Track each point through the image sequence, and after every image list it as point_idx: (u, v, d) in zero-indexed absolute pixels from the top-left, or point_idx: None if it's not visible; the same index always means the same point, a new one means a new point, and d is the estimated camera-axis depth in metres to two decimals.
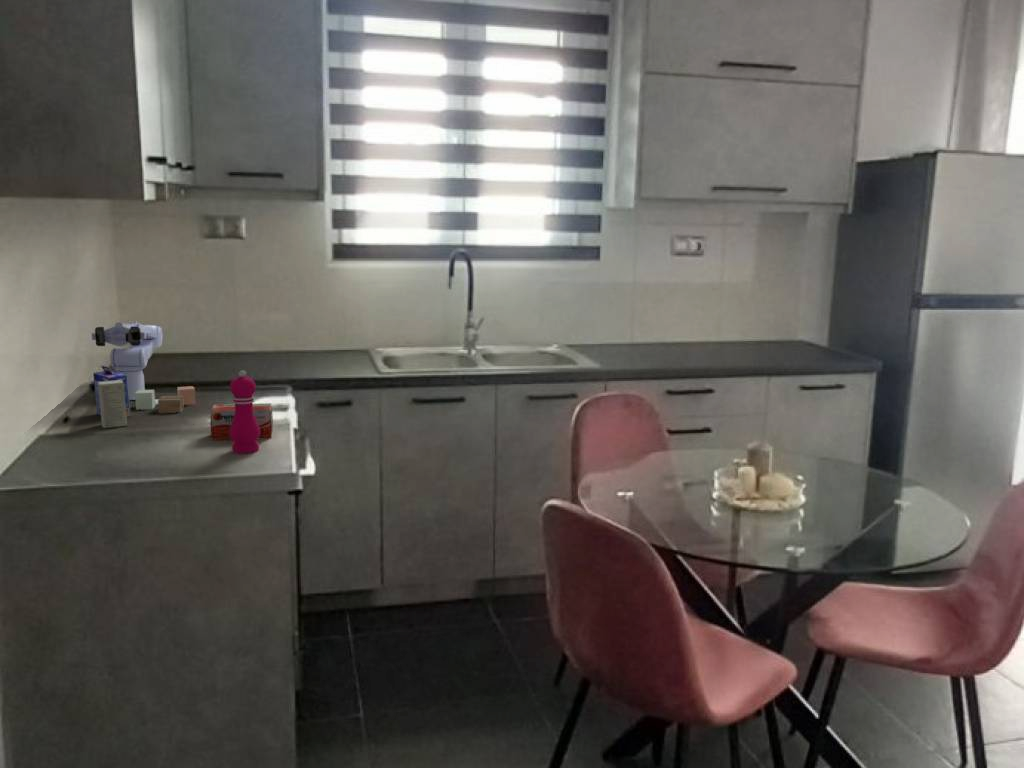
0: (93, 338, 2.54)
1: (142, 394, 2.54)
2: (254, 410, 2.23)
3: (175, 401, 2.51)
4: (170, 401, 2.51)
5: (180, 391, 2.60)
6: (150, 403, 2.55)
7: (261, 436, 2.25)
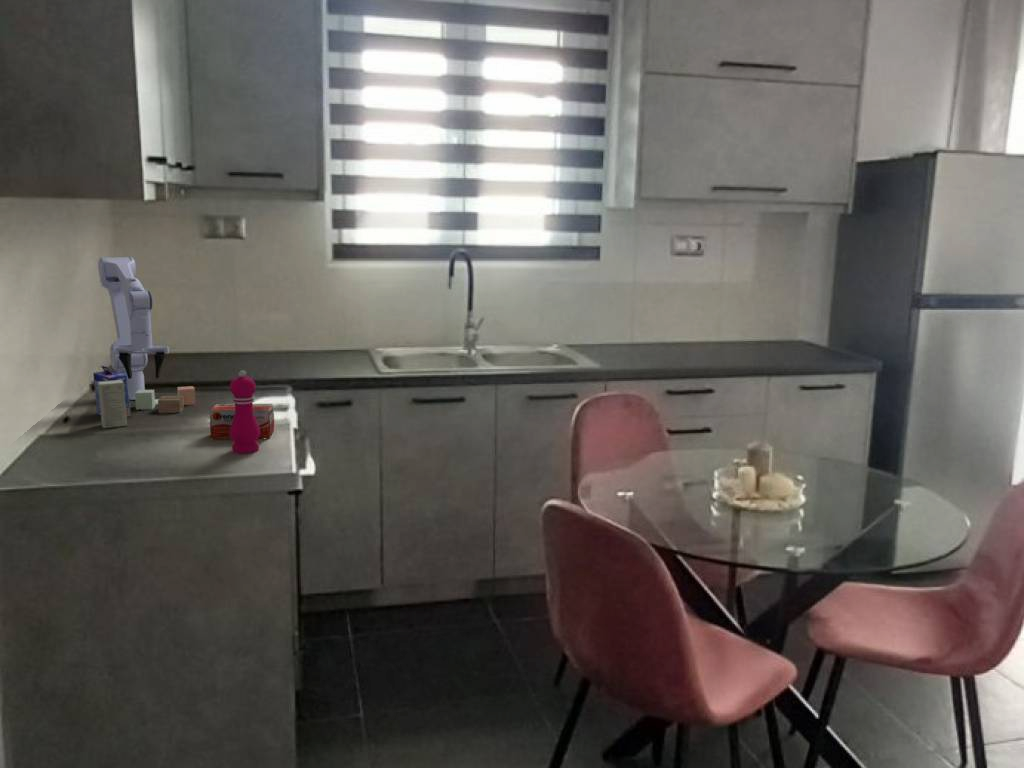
0: None
1: (142, 394, 2.54)
2: (253, 410, 2.23)
3: (175, 401, 2.51)
4: (170, 401, 2.51)
5: (180, 391, 2.60)
6: (150, 403, 2.55)
7: (260, 436, 2.24)
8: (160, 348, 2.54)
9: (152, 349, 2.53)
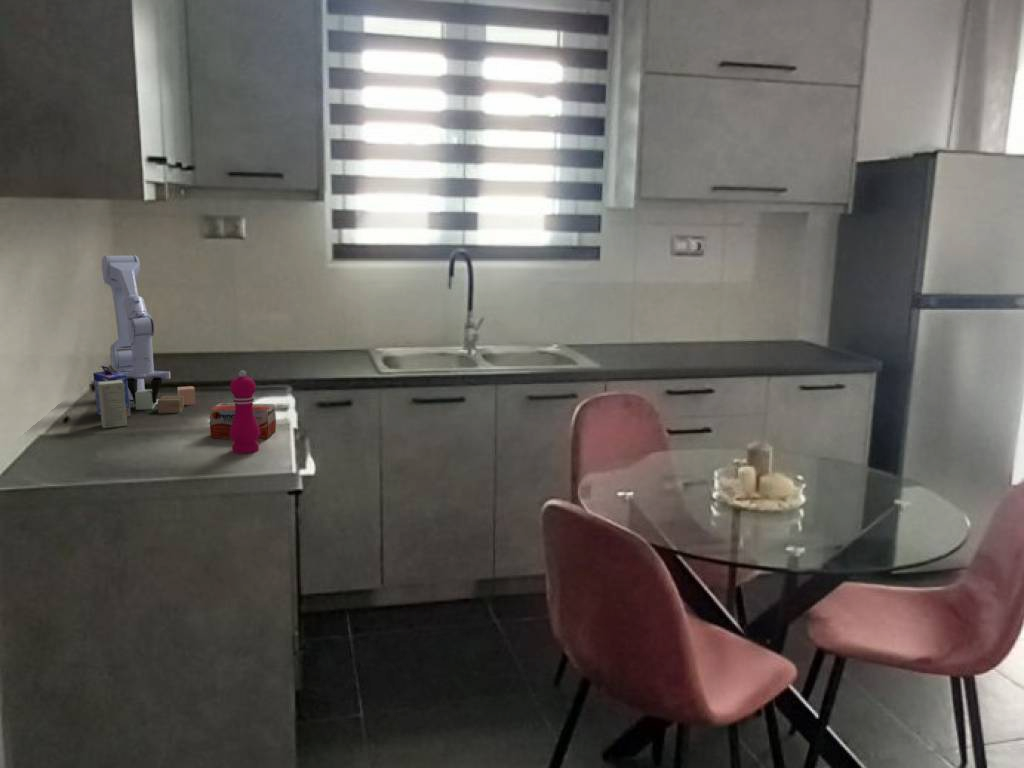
0: None
1: (142, 394, 2.54)
2: None
3: (174, 401, 2.51)
4: (170, 401, 2.51)
5: (180, 391, 2.60)
6: (150, 403, 2.55)
7: None
8: (162, 373, 2.55)
9: (154, 375, 2.54)
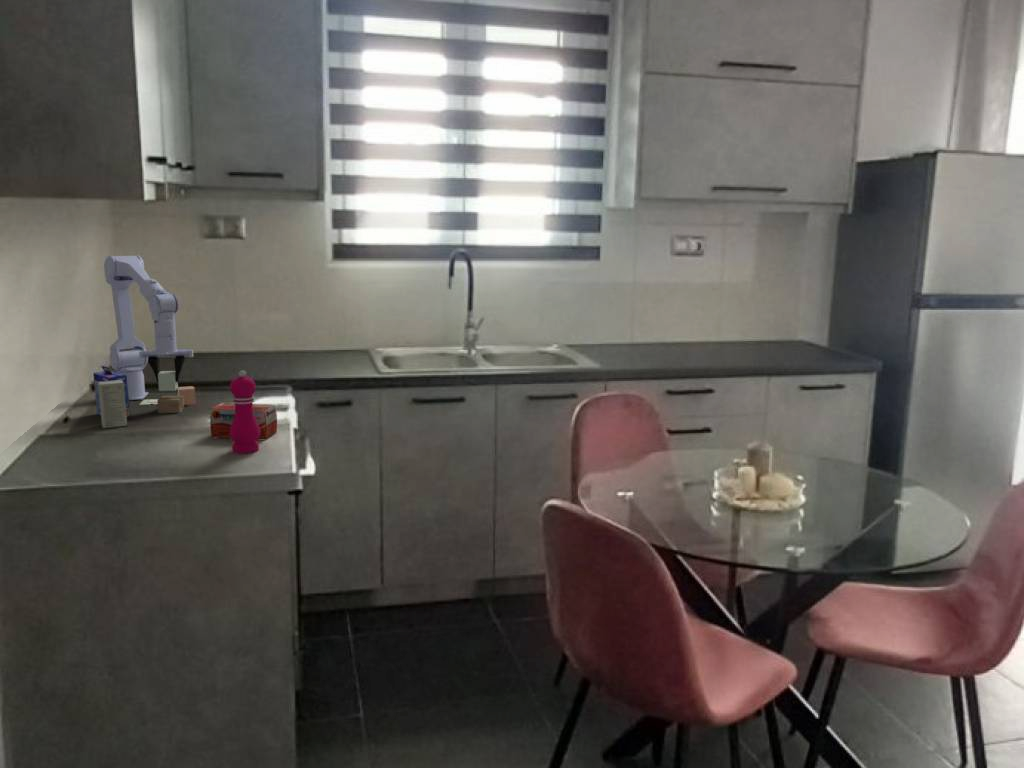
0: None
1: (165, 375, 2.50)
2: None
3: (174, 401, 2.51)
4: (169, 401, 2.51)
5: (180, 391, 2.60)
6: (173, 384, 2.51)
7: None
8: (185, 352, 2.51)
9: (177, 353, 2.50)
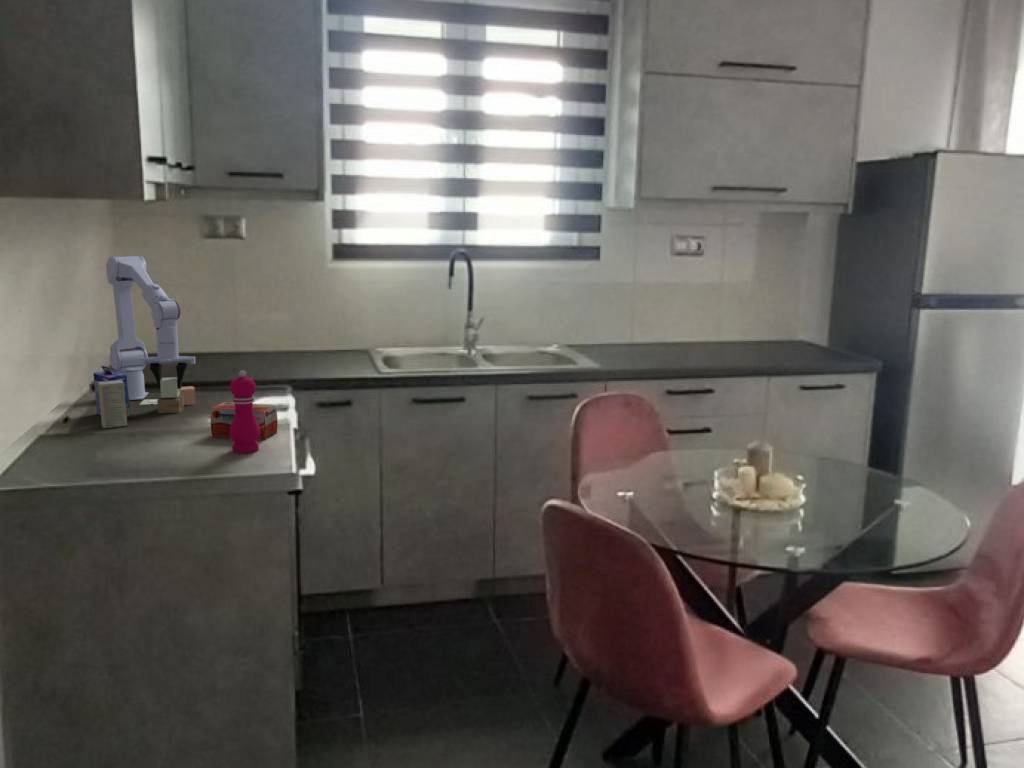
0: None
1: (167, 382, 2.50)
2: None
3: (174, 401, 2.51)
4: (169, 401, 2.51)
5: (180, 391, 2.60)
6: (175, 391, 2.51)
7: None
8: (187, 358, 2.51)
9: (179, 360, 2.50)
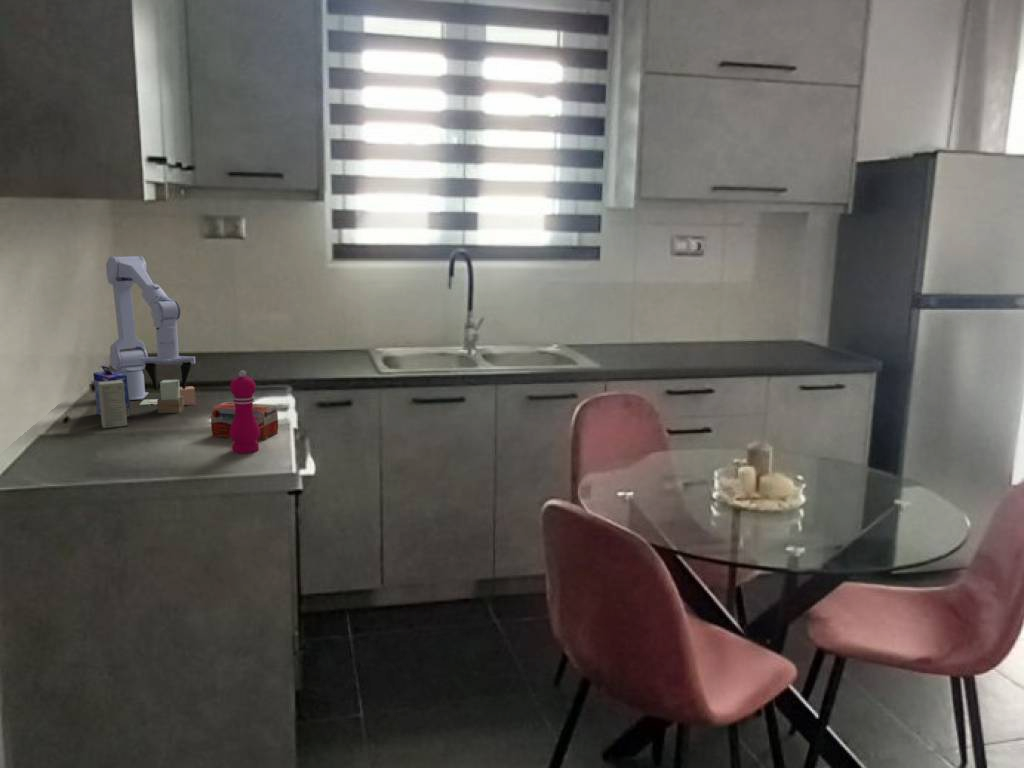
0: None
1: (167, 384, 2.50)
2: None
3: (174, 401, 2.51)
4: (169, 401, 2.51)
5: (180, 391, 2.60)
6: (175, 393, 2.51)
7: None
8: (187, 358, 2.51)
9: (179, 359, 2.50)
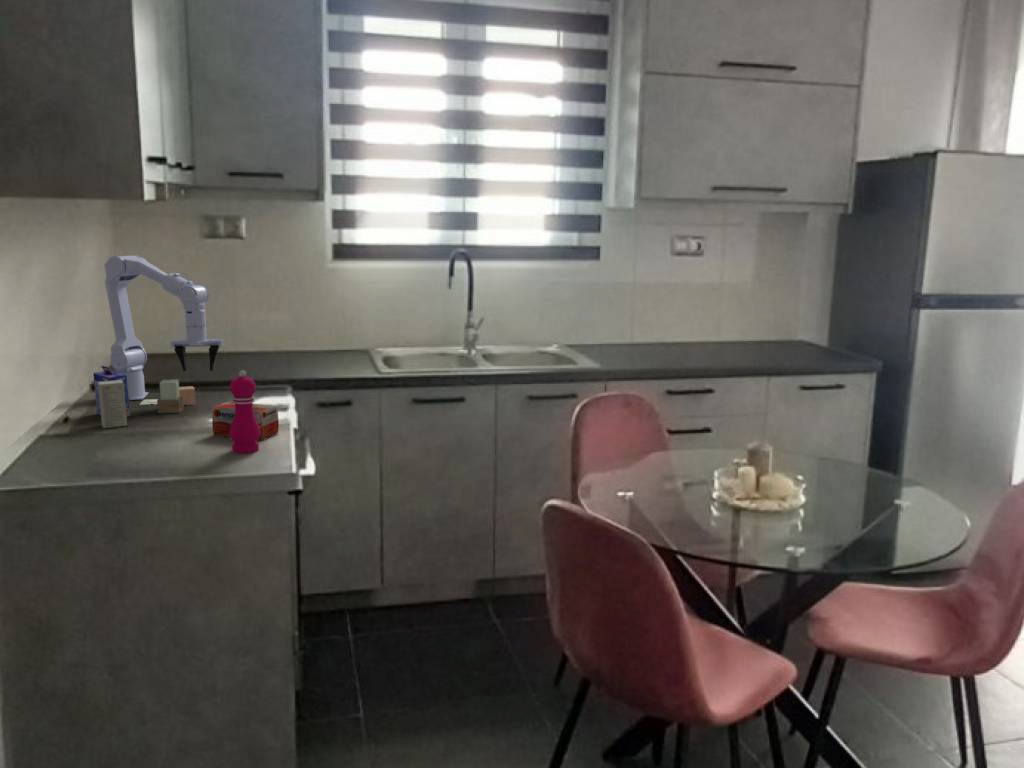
0: None
1: (166, 384, 2.51)
2: None
3: (174, 401, 2.51)
4: (169, 401, 2.51)
5: (180, 391, 2.60)
6: (175, 393, 2.52)
7: None
8: (214, 341, 2.60)
9: (207, 342, 2.58)
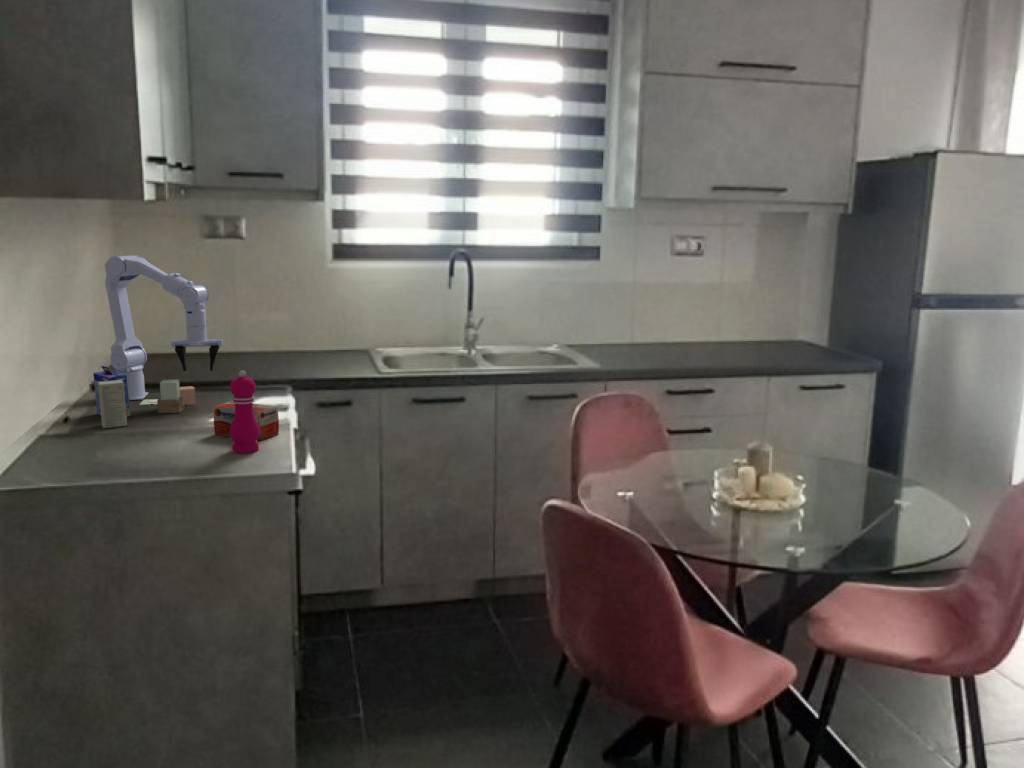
0: None
1: (167, 384, 2.51)
2: None
3: (174, 401, 2.51)
4: (169, 401, 2.51)
5: (180, 391, 2.60)
6: (175, 393, 2.51)
7: None
8: (215, 341, 2.60)
9: (207, 342, 2.59)
